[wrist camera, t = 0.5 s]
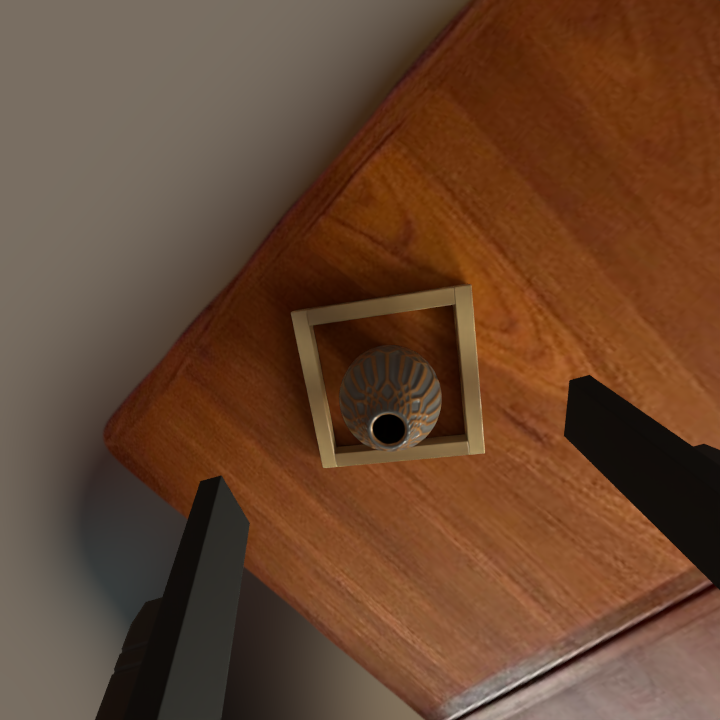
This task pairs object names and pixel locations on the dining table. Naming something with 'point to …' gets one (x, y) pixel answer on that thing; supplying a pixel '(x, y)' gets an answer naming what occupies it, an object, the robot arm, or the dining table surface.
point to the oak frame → (381, 306)
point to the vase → (390, 398)
